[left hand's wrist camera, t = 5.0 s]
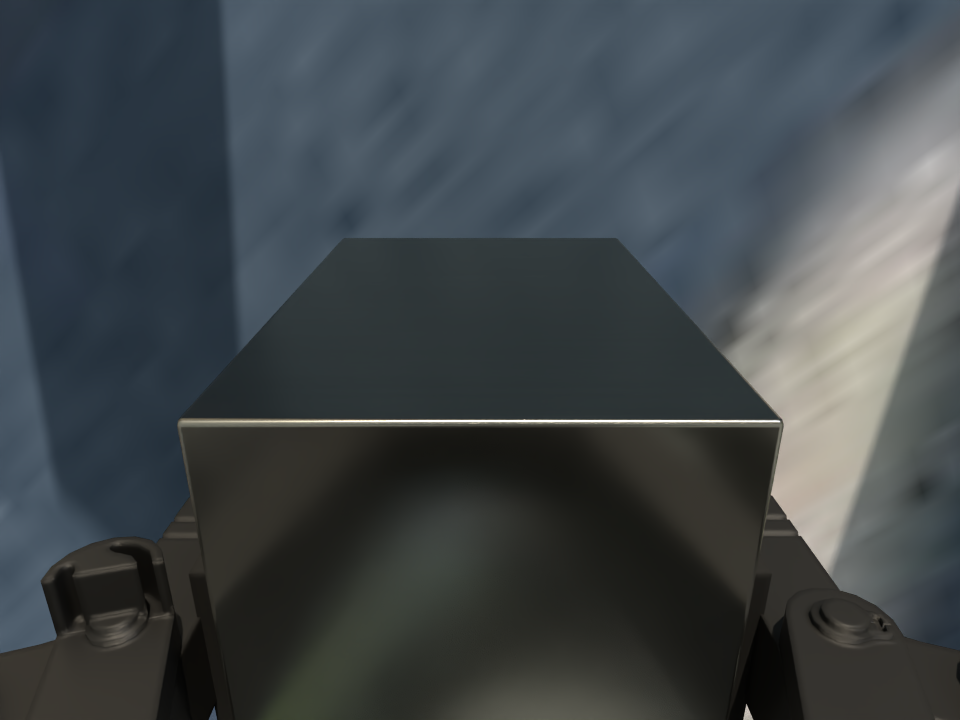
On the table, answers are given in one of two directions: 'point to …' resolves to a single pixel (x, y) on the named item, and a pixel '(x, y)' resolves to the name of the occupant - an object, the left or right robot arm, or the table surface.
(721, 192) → the table surface
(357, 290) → the bar
